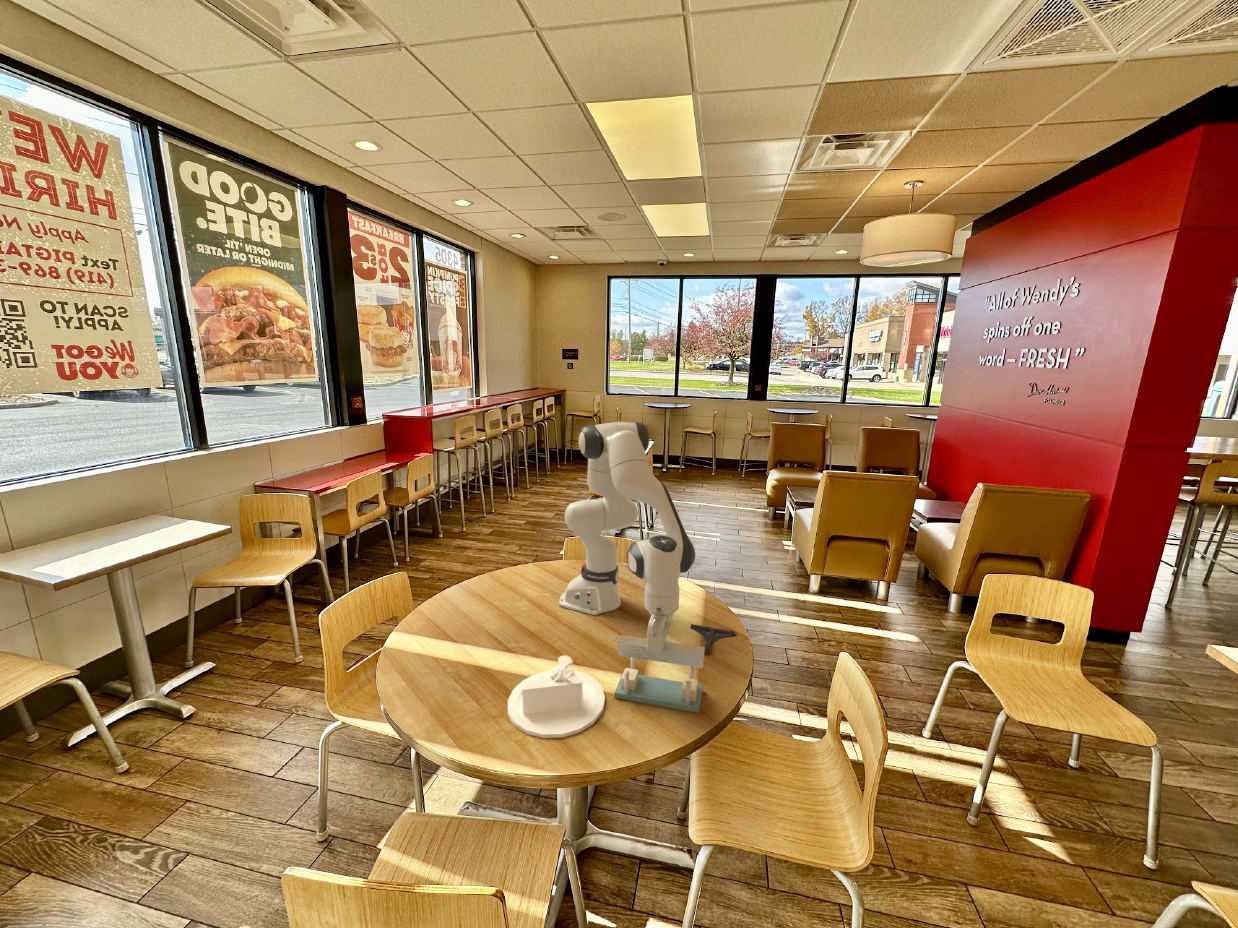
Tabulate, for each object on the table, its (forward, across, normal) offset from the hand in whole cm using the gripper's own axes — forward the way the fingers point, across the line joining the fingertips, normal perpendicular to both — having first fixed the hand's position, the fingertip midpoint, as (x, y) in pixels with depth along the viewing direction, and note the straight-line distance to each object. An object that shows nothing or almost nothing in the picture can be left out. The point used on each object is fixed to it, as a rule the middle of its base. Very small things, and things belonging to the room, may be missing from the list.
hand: (660, 649), depth 128 cm
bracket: (+14, +29, -11) cm, 34 cm away
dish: (+14, -10, +25) cm, 30 cm away
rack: (+13, 0, 0) cm, 13 cm away
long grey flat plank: (+2, 0, 0) cm, 2 cm away
